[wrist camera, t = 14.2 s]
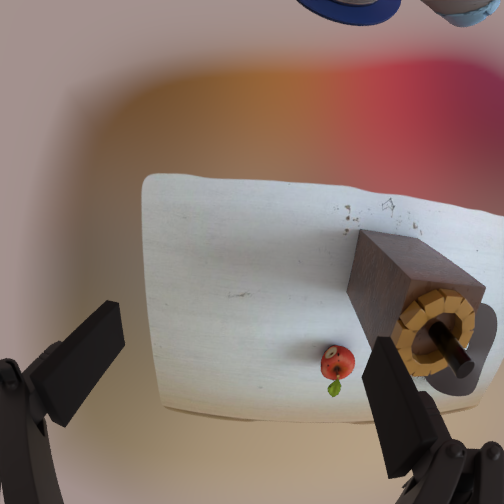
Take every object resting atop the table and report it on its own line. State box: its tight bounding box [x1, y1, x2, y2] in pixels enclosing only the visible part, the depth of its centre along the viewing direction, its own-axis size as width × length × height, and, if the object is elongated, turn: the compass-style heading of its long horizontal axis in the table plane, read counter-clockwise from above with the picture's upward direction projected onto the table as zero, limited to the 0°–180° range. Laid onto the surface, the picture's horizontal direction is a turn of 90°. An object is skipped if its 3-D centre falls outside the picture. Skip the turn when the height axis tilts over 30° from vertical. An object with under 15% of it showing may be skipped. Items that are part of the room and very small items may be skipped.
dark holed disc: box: [425, 303, 497, 396], centre depth 48 cm, size 25×20×10 cm
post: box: [428, 321, 475, 379], centre depth 25 cm, size 2×2×8 cm
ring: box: [391, 289, 475, 376], centre depth 27 cm, size 11×11×2 cm
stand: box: [347, 229, 486, 367], centre depth 39 cm, size 12×12×22 cm
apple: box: [321, 345, 355, 397], centre depth 51 cm, size 8×7×10 cm
